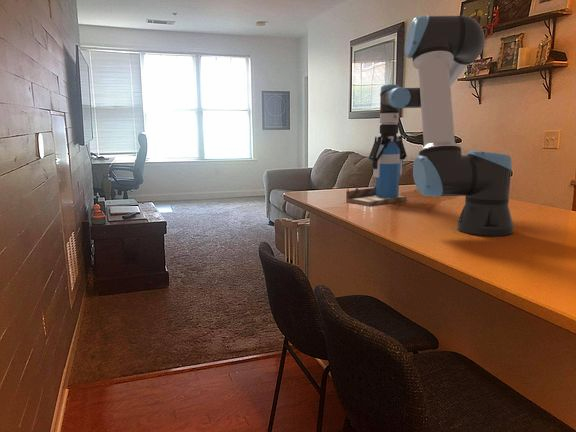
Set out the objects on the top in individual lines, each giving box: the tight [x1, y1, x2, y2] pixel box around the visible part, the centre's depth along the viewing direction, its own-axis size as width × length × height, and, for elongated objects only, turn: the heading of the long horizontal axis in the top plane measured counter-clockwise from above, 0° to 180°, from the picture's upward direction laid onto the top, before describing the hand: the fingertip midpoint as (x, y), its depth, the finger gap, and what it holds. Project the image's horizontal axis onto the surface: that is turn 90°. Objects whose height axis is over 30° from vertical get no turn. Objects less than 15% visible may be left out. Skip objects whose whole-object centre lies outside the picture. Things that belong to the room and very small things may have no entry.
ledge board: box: [345, 185, 408, 207], centre depth 189 cm, size 22×13×5 cm, turn 125°
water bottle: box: [375, 136, 400, 198], centre depth 189 cm, size 9×9×25 cm
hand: (387, 175), depth 190 cm, fingers open, 13 cm apart
